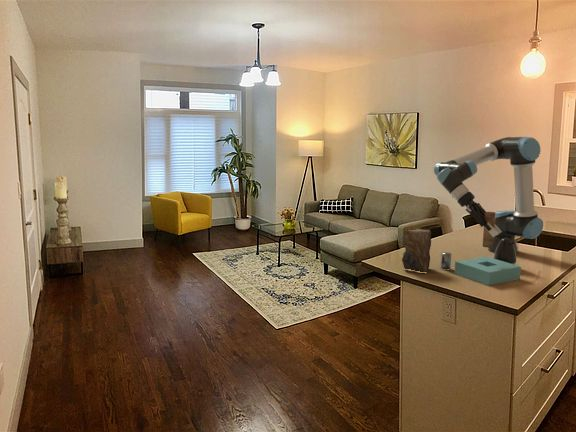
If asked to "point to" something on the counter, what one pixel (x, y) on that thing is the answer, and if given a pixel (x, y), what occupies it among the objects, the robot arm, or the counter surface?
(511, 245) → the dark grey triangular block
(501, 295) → the counter surface
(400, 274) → the counter surface
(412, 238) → the rough brown stone
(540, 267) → the counter surface
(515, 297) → the counter surface
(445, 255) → the short steel pin
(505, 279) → the socket block
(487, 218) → the long walnut pin
